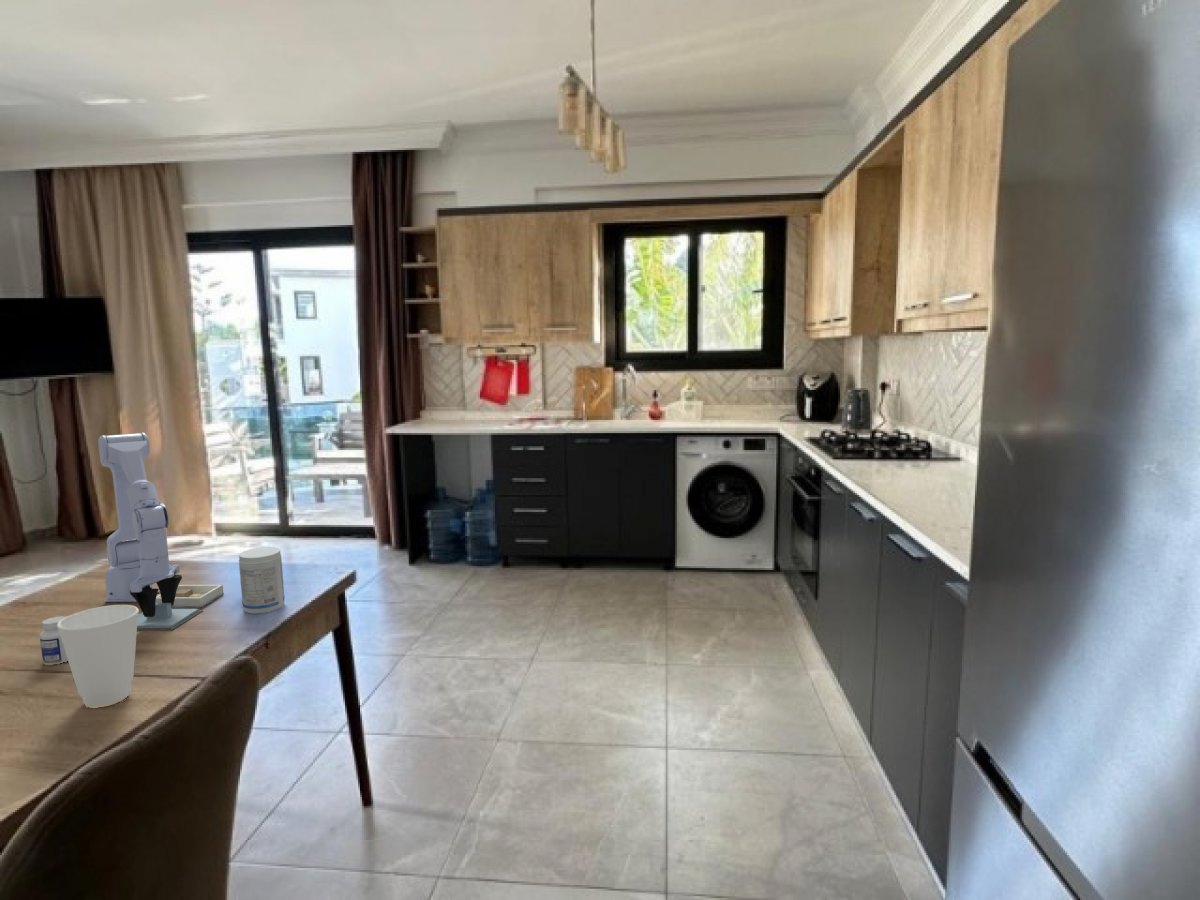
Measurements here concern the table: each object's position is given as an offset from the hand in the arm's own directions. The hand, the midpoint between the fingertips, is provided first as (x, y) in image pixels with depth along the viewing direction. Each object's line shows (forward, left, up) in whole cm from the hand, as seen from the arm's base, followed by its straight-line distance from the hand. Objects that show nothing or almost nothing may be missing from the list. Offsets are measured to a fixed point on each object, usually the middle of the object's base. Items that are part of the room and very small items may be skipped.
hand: (159, 610), depth 156 cm
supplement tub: (+21, +8, -3) cm, 23 cm away
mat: (0, 0, -2) cm, 2 cm away
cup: (+15, -37, -3) cm, 40 cm away
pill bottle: (-7, -21, -3) cm, 22 cm away
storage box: (-1, +13, -2) cm, 13 cm away
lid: (0, 0, -2) cm, 2 cm away
